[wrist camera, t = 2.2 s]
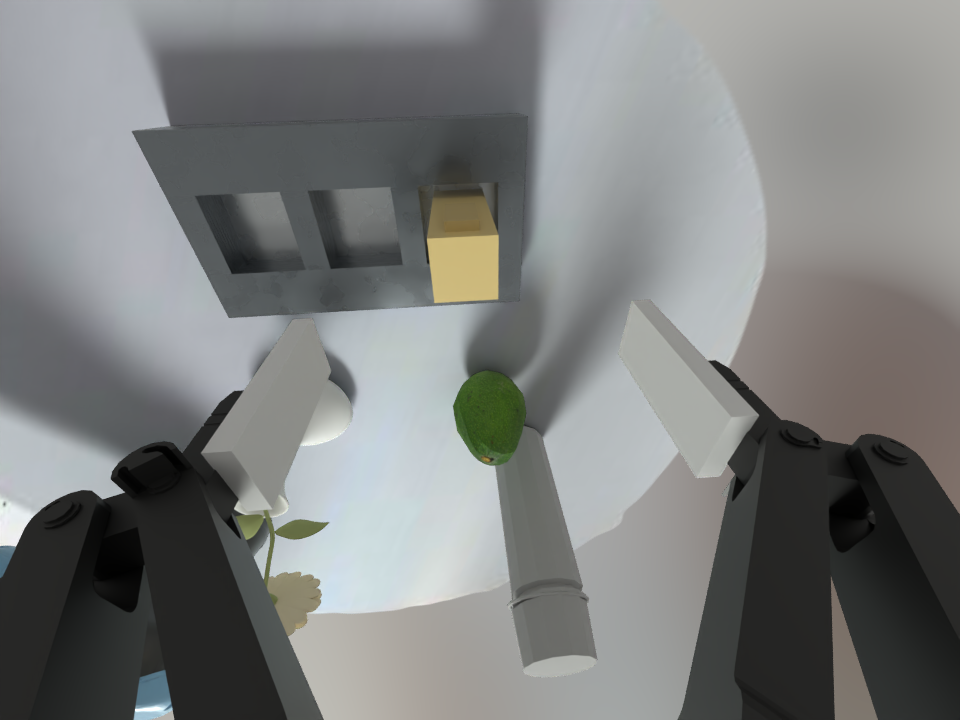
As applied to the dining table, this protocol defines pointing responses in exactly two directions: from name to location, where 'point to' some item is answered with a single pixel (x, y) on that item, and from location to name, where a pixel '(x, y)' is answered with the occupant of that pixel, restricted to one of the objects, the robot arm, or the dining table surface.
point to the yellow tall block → (462, 247)
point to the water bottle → (542, 567)
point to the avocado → (490, 416)
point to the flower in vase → (290, 589)
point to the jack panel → (335, 205)
